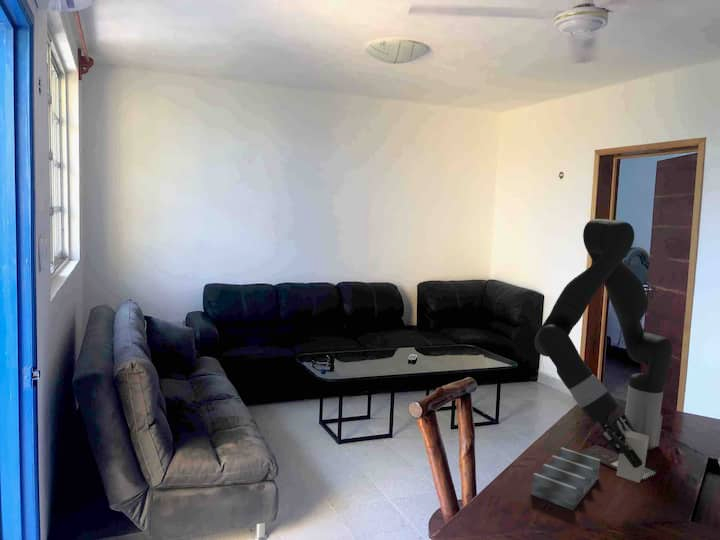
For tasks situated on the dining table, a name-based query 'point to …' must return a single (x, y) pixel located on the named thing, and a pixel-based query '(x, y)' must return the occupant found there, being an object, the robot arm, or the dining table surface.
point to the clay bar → (640, 448)
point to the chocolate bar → (611, 459)
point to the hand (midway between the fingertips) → (641, 462)
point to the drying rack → (566, 478)
